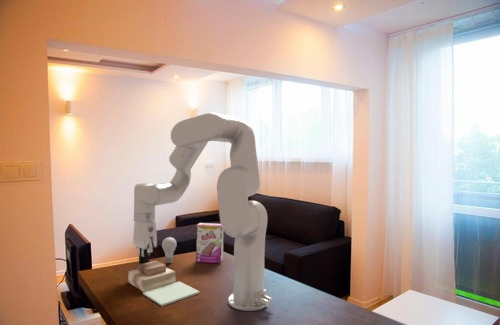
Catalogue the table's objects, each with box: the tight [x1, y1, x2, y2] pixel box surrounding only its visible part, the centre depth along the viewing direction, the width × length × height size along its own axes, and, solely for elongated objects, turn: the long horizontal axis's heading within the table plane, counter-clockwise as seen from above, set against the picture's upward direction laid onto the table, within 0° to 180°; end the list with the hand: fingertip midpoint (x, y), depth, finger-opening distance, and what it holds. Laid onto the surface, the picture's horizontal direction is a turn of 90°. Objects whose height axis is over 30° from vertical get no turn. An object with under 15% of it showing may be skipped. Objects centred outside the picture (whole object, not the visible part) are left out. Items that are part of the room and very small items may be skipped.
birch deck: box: [127, 267, 177, 293], centre depth 116 cm, size 12×12×4 cm
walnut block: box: [137, 260, 167, 276], centre depth 115 cm, size 7×7×2 cm
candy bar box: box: [195, 222, 225, 264], centre depth 140 cm, size 11×5×16 cm, turn 84°
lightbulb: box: [161, 236, 177, 264], centre depth 137 cm, size 6×6×11 cm
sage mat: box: [142, 281, 201, 307], centre depth 106 cm, size 12×14×1 cm
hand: (143, 265), depth 120 cm, fingers closed
